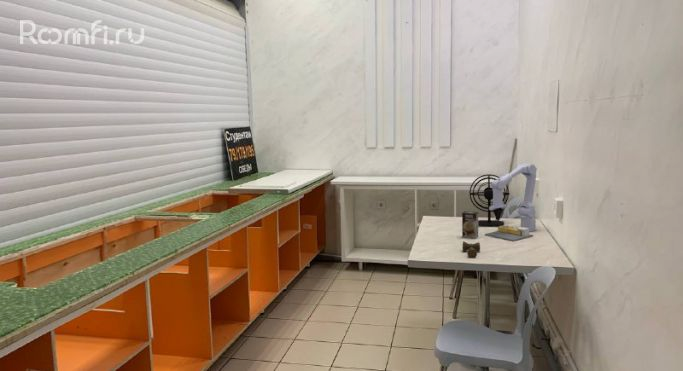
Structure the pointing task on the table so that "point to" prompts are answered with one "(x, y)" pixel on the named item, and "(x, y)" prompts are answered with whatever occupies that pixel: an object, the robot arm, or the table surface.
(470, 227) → the coffee box
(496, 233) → the base
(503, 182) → the robot arm
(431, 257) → the table surface
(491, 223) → the desk fan
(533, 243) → the table surface
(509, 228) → the link
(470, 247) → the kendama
